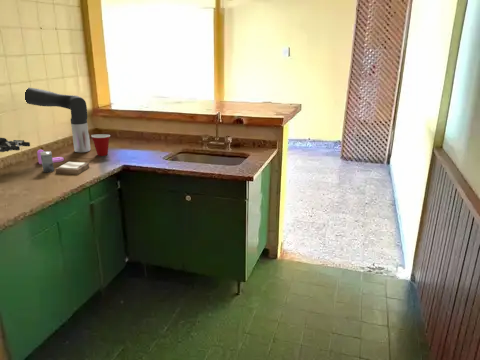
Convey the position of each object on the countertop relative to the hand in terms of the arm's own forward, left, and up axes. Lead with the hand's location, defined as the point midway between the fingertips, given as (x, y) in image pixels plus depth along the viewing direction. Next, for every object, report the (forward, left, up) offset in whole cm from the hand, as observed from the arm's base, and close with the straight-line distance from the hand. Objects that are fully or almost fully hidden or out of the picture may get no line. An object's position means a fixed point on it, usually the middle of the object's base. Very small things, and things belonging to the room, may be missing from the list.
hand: (24, 146), depth 215 cm
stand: (-3, +23, -13) cm, 27 cm away
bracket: (-16, +3, -13) cm, 21 cm away
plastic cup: (-34, +25, -13) cm, 45 cm away
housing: (0, +11, -13) cm, 17 cm away
